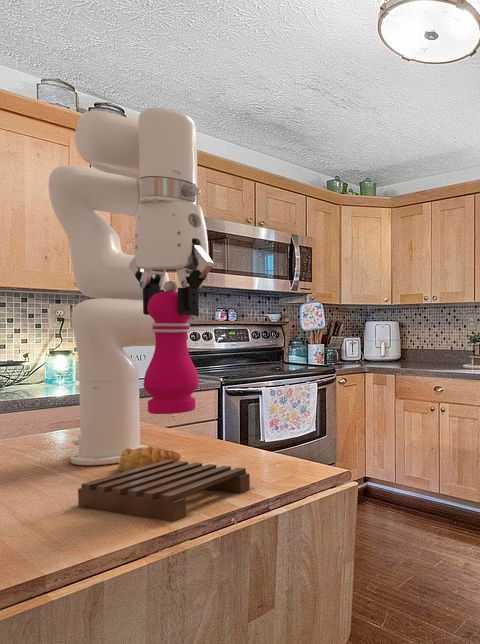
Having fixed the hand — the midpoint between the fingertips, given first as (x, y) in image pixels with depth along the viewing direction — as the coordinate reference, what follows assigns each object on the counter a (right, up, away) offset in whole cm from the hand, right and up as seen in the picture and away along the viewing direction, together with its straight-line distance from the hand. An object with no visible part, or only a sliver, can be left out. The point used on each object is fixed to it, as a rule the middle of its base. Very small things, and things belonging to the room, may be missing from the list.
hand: (171, 313), depth 76 cm
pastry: (-15, -28, +16) cm, 35 cm away
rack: (-1, -28, 0) cm, 28 cm away
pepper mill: (0, -15, +1) cm, 15 cm away
